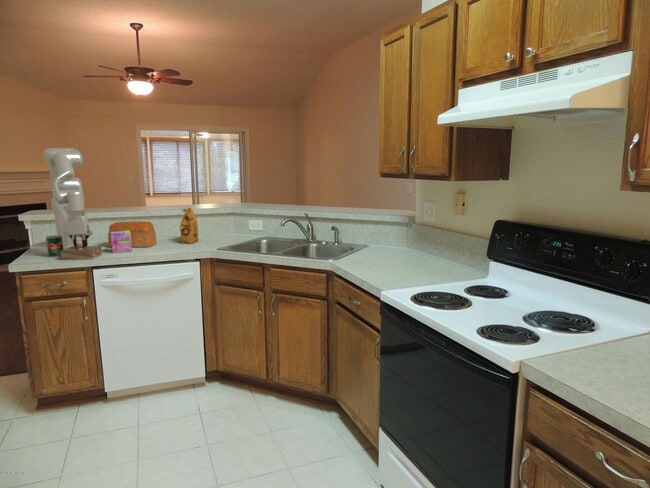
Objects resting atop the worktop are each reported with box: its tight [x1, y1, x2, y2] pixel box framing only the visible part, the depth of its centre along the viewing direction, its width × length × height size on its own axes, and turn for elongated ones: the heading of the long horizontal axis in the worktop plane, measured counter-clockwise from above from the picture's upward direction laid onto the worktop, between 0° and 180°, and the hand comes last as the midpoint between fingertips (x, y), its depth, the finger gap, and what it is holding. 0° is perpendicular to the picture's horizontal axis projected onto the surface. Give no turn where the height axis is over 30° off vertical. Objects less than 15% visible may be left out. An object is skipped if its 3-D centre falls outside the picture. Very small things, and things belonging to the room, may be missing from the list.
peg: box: [75, 235, 85, 249], centre depth 248 cm, size 4×4×10 cm
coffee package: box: [179, 206, 199, 245], centre depth 289 cm, size 10×12×22 cm
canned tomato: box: [45, 234, 64, 258], centre depth 254 cm, size 8×8×11 cm
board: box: [60, 245, 103, 261], centre depth 249 cm, size 12×16×5 cm
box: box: [110, 230, 133, 254], centre depth 263 cm, size 10×6×12 cm, turn 117°
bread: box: [107, 220, 158, 248], centre depth 281 cm, size 14×27×15 cm, turn 90°
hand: (80, 246), depth 248 cm, fingers closed on peg, 4 cm apart
